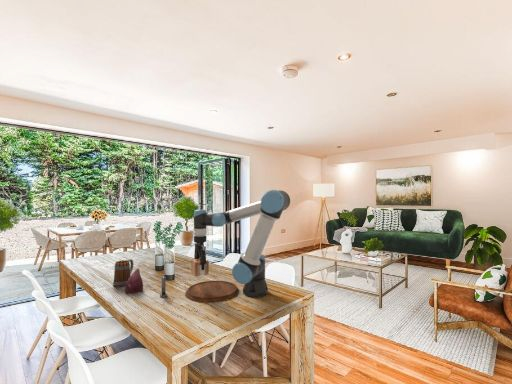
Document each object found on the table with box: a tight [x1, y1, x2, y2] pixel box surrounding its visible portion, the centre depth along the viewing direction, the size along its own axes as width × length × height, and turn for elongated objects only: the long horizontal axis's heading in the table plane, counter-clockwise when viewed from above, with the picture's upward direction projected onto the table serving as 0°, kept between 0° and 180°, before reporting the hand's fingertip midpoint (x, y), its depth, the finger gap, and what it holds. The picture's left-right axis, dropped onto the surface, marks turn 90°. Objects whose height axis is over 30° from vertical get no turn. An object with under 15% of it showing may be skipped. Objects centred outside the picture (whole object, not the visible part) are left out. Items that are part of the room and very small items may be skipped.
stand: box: [159, 276, 168, 298], centre depth 155 cm, size 4×4×11 cm
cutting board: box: [184, 280, 240, 304], centre depth 162 cm, size 32×32×3 cm
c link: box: [190, 259, 210, 277], centre depth 160 cm, size 8×8×8 cm
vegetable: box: [124, 267, 144, 295], centre depth 165 cm, size 10×10×15 cm
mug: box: [112, 258, 134, 288], centre depth 179 cm, size 16×11×15 cm
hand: (200, 273), depth 160 cm, fingers closed on c link, 8 cm apart
